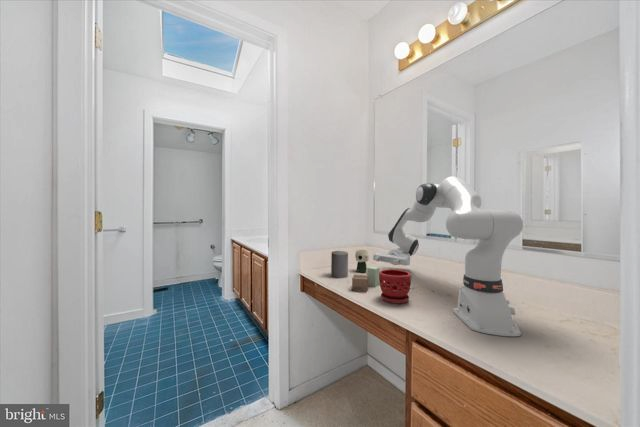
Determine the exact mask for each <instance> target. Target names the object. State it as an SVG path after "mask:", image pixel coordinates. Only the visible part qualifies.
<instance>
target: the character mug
mask: <svg viewBox="0 0 640 427" xmlns="http://www.w3.org/2000/svg"><path fill="white" fill-rule="evenodd" d="M354 257H355V260H356V262H357V265H356V272H359V273H365V272H367V268H368V266H367V263H366V262H368V260H369V253H368V250H367V249H356V250H355V256H354Z"/></svg>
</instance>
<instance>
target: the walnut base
mask: <svg viewBox="0 0 640 427" xmlns="http://www.w3.org/2000/svg"><path fill="white" fill-rule="evenodd" d="M351 279H352V280H351V284H352V285H351V286H352V287H351V291H353V292H362V293H363V292H364V293H367V292H368V290H369V287H370V286H369V275H365V274H353V276H352V277H351Z"/></svg>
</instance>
